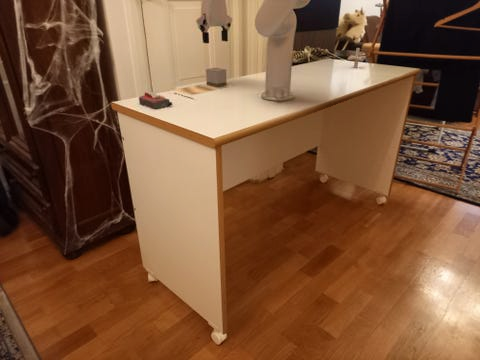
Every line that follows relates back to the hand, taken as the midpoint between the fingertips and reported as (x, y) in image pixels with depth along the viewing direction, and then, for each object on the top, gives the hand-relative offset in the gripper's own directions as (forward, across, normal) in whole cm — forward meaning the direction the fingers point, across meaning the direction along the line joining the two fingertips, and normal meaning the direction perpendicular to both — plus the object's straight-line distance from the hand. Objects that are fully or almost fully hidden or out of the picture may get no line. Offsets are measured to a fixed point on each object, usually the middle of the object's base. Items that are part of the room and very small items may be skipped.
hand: (215, 42), depth 140 cm
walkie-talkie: (+19, +32, +1) cm, 37 cm away
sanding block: (+17, 0, 0) cm, 17 cm away
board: (+18, +7, 0) cm, 20 cm away
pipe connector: (+19, -84, +16) cm, 87 cm away
